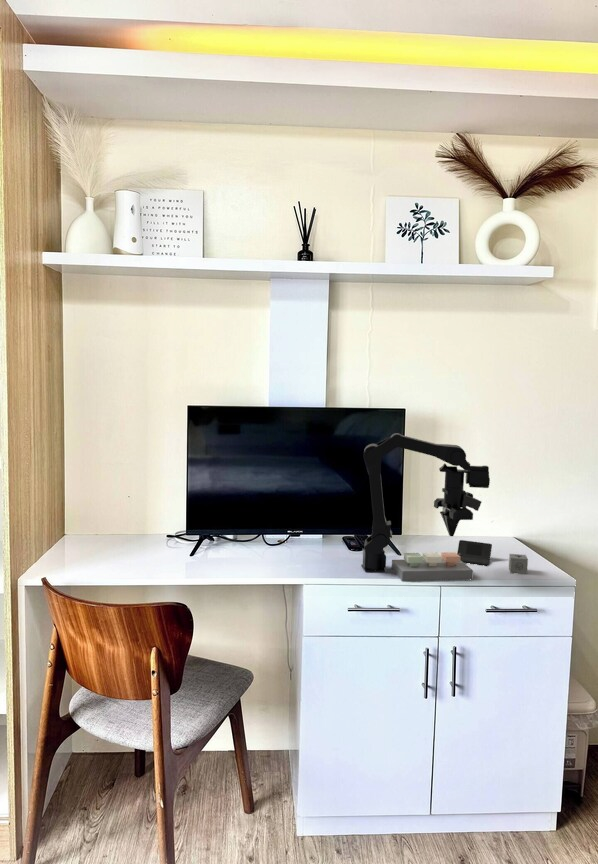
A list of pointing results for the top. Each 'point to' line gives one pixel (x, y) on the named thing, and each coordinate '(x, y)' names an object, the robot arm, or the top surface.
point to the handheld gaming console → (474, 552)
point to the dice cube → (518, 563)
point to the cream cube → (432, 558)
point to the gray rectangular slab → (431, 571)
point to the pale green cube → (413, 559)
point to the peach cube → (450, 558)
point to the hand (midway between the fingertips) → (451, 536)
